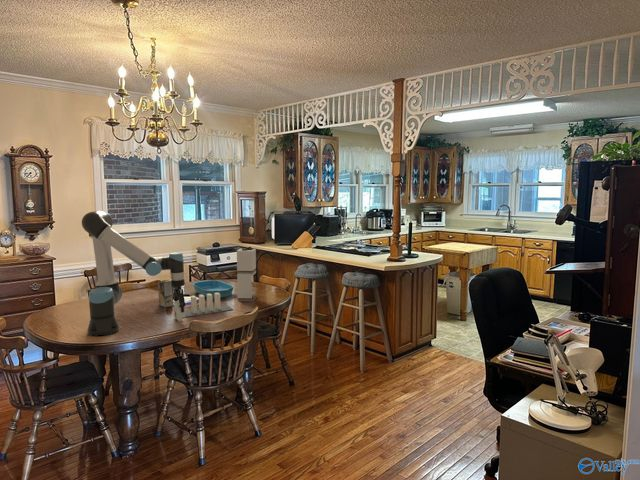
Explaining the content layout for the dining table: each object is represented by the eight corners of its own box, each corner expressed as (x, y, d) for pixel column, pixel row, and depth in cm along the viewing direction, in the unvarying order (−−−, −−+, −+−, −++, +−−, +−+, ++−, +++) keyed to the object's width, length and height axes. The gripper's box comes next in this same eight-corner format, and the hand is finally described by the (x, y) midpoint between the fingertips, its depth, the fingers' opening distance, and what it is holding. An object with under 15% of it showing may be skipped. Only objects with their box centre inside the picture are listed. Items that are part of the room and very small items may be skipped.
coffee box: (174, 305, 280) (173, 281, 278) (165, 307, 276) (164, 283, 274) (167, 303, 287) (166, 279, 285) (158, 304, 282) (157, 281, 280)
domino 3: (201, 312, 263) (200, 296, 262) (199, 310, 267) (198, 294, 266) (205, 311, 264) (204, 296, 263) (202, 309, 268) (202, 294, 267)
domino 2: (193, 313, 260) (192, 297, 259) (191, 311, 264) (190, 295, 263) (196, 313, 261) (196, 297, 260) (194, 311, 266) (194, 295, 264)
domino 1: (178, 321, 247) (177, 304, 246) (176, 319, 251) (175, 302, 250) (182, 320, 248) (181, 304, 247) (180, 318, 252) (179, 302, 251)
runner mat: (181, 318, 253) (181, 317, 253) (177, 313, 263) (176, 312, 263) (233, 310, 270) (233, 309, 270) (226, 305, 280) (226, 304, 280)
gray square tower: (253, 301, 291) (252, 250, 287) (237, 301, 291) (236, 250, 287) (256, 297, 302) (255, 248, 298) (241, 296, 303) (240, 248, 298)
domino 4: (209, 311, 265) (208, 295, 264) (207, 309, 270) (206, 293, 268) (212, 310, 266) (212, 295, 265) (210, 308, 271) (210, 293, 270)
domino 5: (217, 309, 268) (216, 294, 267) (214, 308, 272) (214, 292, 271) (220, 309, 269) (220, 294, 268) (218, 307, 273) (217, 292, 272)
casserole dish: (238, 296, 304) (238, 286, 303) (209, 301, 290) (209, 291, 290) (216, 287, 333) (216, 278, 332) (189, 291, 319) (188, 282, 318)
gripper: (189, 282, 238) (191, 318, 241) (179, 274, 259) (181, 308, 262) (175, 284, 234) (178, 321, 237) (166, 276, 255) (168, 310, 258)
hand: (179, 314), depth 249 cm, fingers open, 13 cm apart
